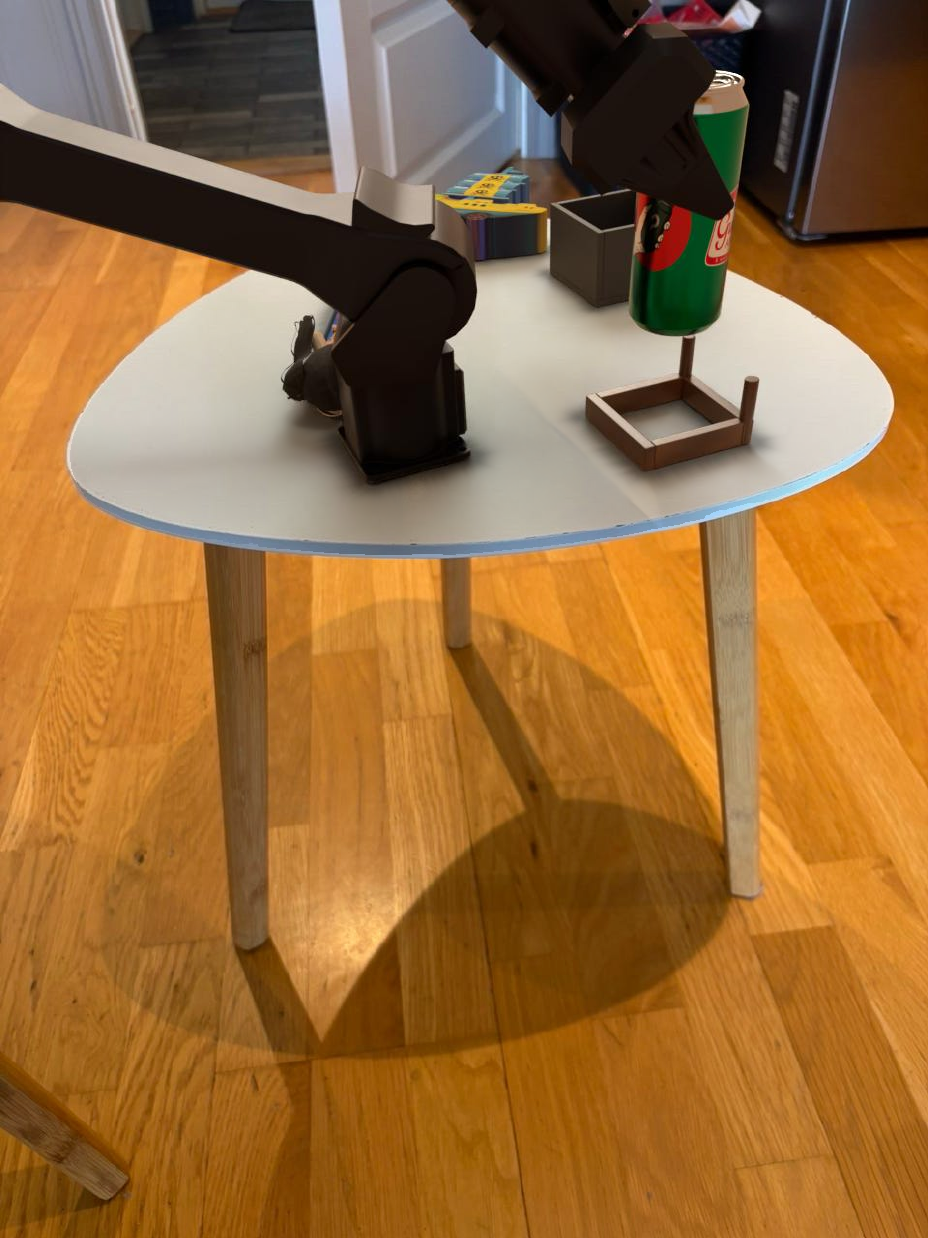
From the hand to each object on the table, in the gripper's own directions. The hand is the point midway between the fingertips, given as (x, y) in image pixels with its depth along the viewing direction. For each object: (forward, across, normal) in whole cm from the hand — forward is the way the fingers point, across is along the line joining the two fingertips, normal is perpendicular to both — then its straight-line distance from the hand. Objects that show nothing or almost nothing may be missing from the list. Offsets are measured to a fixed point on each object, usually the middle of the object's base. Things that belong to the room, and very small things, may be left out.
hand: (712, 196), depth 48 cm
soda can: (+4, 0, +6) cm, 7 cm away
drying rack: (+9, 0, +10) cm, 13 cm away
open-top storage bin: (+10, +24, +9) cm, 27 cm away
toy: (-1, +32, +18) cm, 37 cm away
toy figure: (-5, +11, +24) cm, 27 cm away
